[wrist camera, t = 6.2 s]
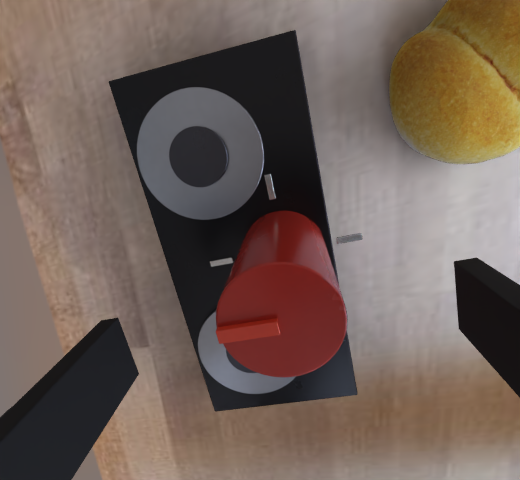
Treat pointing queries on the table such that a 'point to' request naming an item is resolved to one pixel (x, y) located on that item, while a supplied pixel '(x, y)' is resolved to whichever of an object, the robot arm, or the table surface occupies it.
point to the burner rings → (205, 188)
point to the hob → (259, 204)
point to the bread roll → (461, 83)
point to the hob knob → (282, 299)
